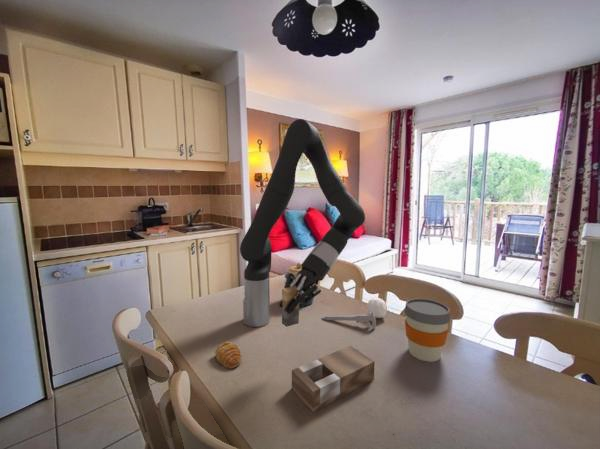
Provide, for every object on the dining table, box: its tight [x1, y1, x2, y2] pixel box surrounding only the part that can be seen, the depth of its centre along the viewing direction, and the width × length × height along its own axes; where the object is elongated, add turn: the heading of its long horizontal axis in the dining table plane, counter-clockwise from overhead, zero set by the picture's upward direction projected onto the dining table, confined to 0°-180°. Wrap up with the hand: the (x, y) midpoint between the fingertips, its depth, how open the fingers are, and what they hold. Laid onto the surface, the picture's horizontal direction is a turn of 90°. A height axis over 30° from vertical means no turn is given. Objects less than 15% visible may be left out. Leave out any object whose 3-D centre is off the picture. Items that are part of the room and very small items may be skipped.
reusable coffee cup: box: [404, 298, 451, 363], centre depth 85 cm, size 13×12×15 cm
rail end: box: [281, 287, 300, 328], centre depth 78 cm, size 4×2×10 cm, turn 124°
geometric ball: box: [366, 297, 388, 319], centre depth 110 cm, size 8×8×8 cm
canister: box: [284, 262, 315, 308], centre depth 124 cm, size 13×13×18 cm
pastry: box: [214, 341, 242, 369], centre depth 82 cm, size 9×7×4 cm
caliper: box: [321, 311, 377, 330], centre depth 104 cm, size 20×1×6 cm, turn 67°
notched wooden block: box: [291, 345, 375, 413], centre depth 72 cm, size 20×9×5 cm, turn 124°
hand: (284, 309), depth 77 cm, fingers closed on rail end, 2 cm apart
